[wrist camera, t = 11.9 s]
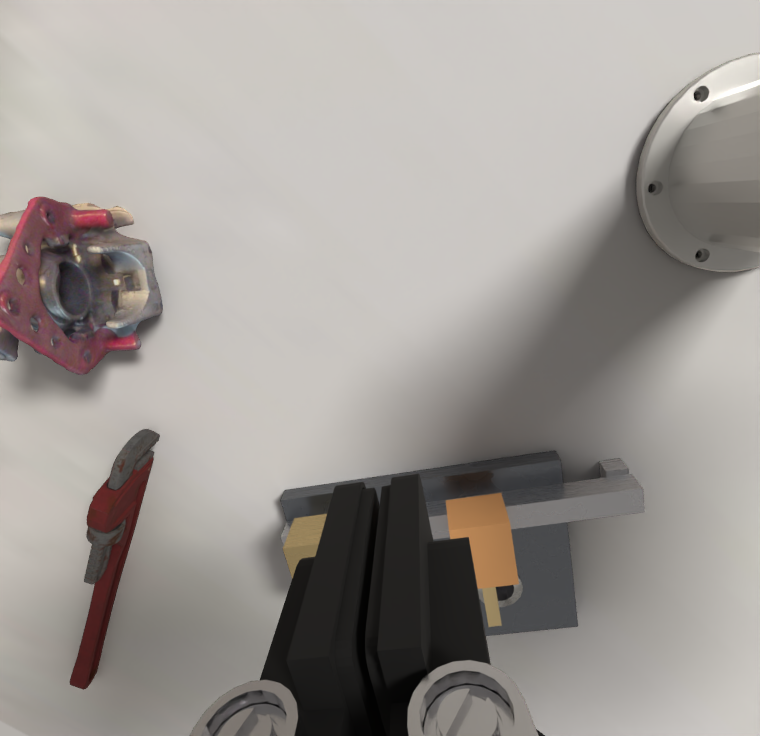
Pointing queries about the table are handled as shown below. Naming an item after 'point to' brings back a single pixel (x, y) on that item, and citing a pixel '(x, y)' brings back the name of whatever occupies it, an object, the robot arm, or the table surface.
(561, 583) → the bolt plate
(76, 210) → the red grey carburetor
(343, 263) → the table surface
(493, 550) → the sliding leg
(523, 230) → the table surface
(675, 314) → the table surface
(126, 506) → the pipe wrench
